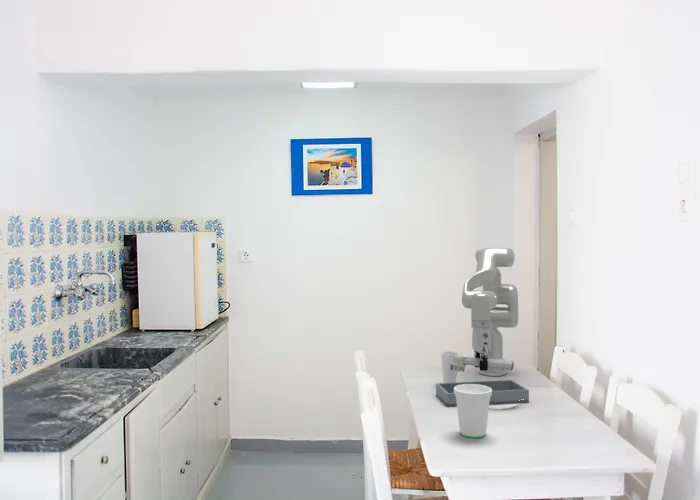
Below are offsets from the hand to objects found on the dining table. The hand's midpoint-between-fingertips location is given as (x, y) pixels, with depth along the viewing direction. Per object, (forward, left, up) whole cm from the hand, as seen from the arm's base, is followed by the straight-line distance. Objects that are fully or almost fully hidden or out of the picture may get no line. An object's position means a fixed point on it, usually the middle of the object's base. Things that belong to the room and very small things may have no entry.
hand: (481, 368), depth 236 cm
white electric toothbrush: (0, 0, -1) cm, 1 cm away
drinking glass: (-20, -7, -13) cm, 25 cm away
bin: (0, 0, -12) cm, 12 cm away
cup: (+39, -17, -13) cm, 44 cm away
